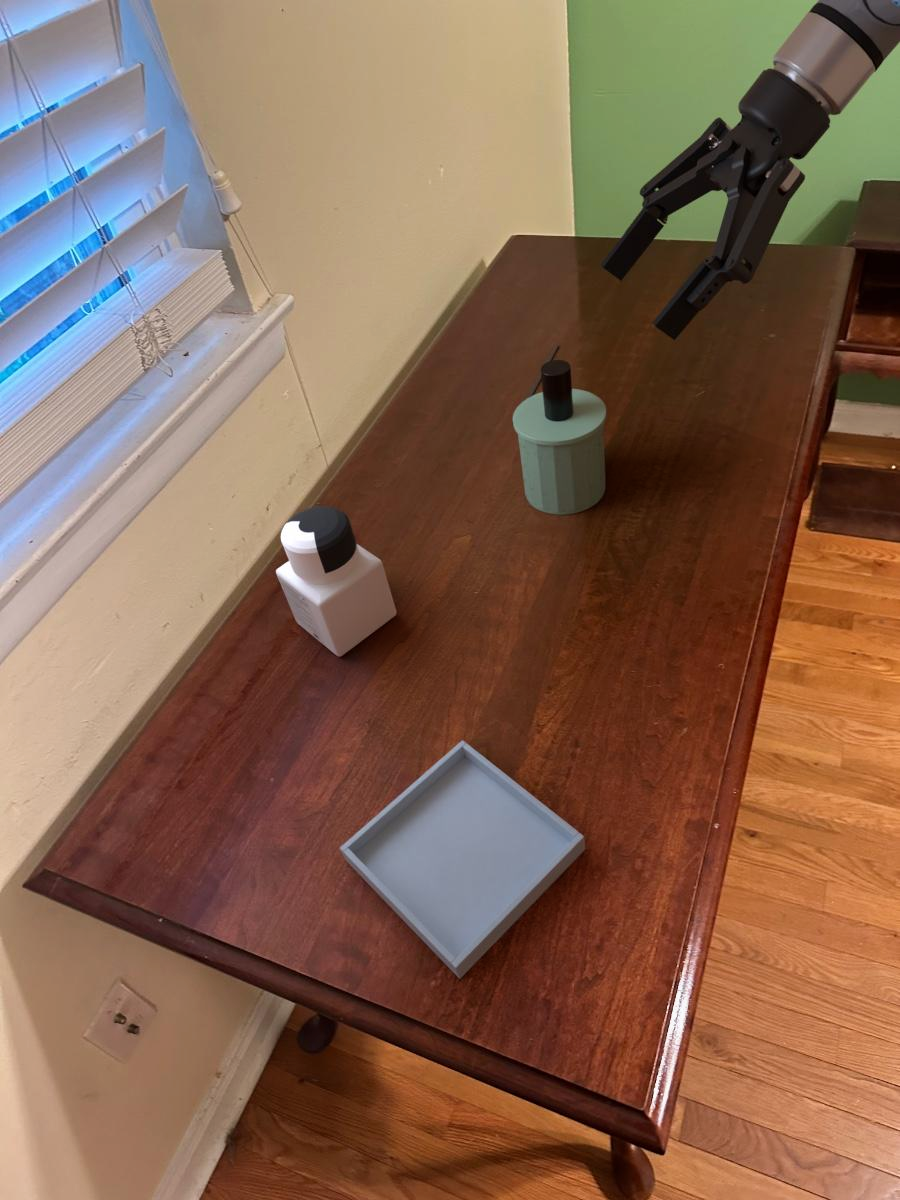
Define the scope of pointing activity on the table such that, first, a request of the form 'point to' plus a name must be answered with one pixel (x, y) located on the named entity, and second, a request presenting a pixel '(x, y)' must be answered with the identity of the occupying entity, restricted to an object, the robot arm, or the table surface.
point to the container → (333, 580)
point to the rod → (540, 373)
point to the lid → (559, 410)
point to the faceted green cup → (564, 474)
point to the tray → (463, 855)
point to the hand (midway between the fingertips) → (635, 301)
